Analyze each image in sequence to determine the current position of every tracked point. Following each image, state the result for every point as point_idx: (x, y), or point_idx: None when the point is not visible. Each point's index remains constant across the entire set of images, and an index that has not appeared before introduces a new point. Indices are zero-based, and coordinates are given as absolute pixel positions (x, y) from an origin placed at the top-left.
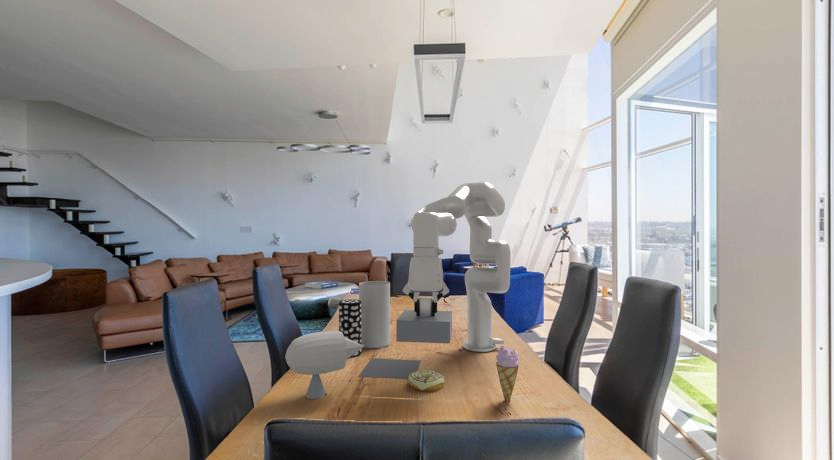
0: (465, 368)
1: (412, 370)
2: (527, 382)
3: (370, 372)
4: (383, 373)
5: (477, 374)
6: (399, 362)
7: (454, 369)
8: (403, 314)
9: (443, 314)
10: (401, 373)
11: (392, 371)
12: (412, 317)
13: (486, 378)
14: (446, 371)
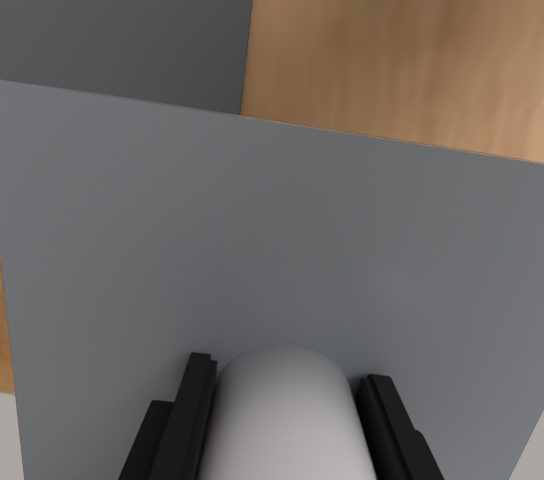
0: (475, 5)
1: (222, 47)
2: None
3: (37, 68)
4: (98, 83)
5: (501, 91)
6: None
7: (419, 19)
8: (38, 362)
9: (478, 367)
10: (176, 86)
11: (133, 57)
12: None
13: (520, 139)
14: (377, 47)
